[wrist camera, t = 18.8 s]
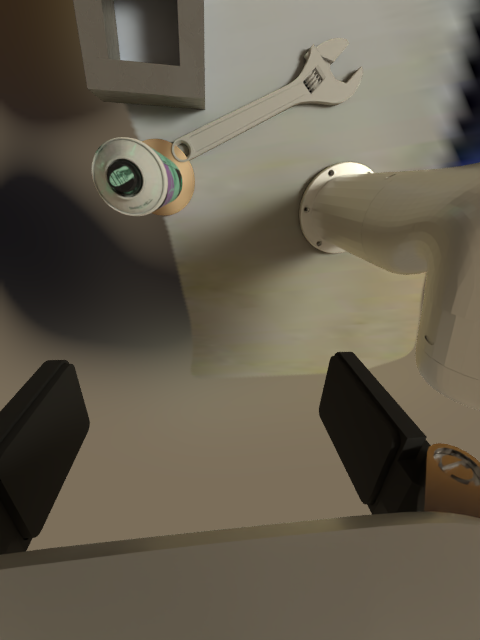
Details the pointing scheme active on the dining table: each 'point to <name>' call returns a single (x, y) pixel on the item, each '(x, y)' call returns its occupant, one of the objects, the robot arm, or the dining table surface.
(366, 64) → the dining table surface
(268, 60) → the dining table surface
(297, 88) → the adjustable wrench
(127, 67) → the block
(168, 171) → the spray can
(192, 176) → the coaster
